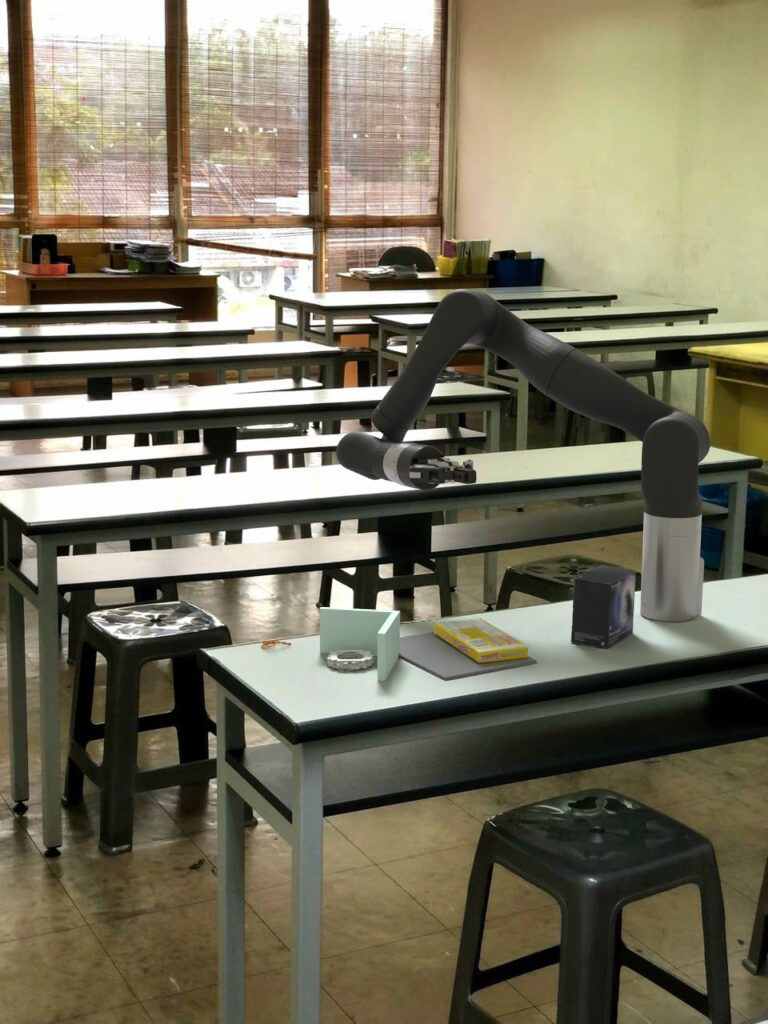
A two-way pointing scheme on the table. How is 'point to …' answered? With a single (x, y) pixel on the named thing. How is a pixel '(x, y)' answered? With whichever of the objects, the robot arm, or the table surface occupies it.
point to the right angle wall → (360, 638)
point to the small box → (603, 606)
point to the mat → (448, 657)
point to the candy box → (481, 640)
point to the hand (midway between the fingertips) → (472, 477)
